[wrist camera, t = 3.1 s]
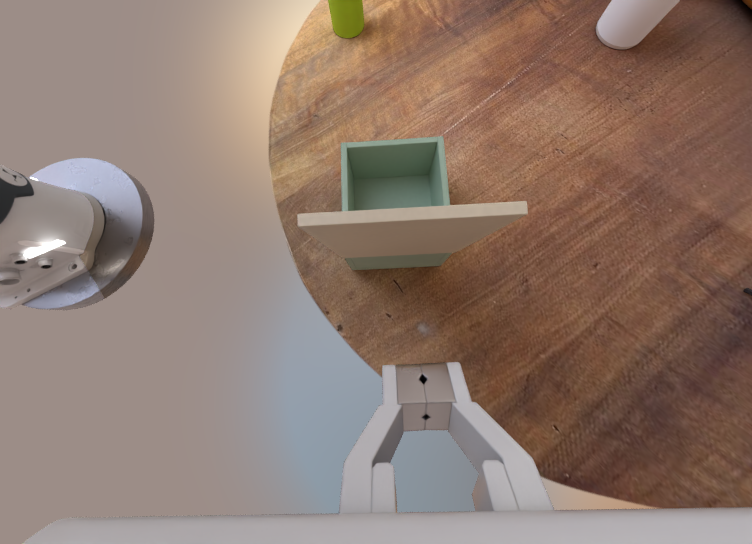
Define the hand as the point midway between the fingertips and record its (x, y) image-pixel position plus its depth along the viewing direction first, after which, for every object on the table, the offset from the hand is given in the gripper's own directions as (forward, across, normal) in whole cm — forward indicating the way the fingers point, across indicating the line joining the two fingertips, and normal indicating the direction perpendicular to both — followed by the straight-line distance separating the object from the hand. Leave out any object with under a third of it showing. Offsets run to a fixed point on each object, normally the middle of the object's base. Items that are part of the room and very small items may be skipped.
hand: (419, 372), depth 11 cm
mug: (+58, -42, -16) cm, 74 cm away
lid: (+15, 0, +1) cm, 15 cm away
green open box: (+34, 0, +8) cm, 34 cm away
